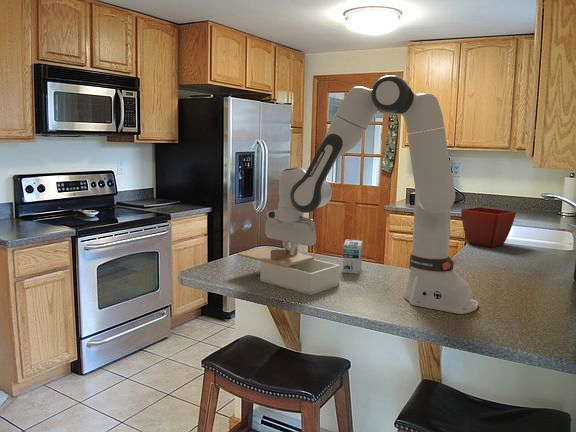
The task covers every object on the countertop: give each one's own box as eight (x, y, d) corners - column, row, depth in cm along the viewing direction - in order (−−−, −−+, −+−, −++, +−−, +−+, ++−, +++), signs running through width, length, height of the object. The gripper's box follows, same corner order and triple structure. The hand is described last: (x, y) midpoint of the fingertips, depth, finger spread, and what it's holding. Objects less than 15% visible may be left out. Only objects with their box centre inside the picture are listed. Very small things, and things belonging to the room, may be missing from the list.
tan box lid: (313, 259, 177) (314, 248, 176) (284, 267, 165) (284, 255, 164) (268, 248, 191) (268, 238, 190) (237, 255, 179) (237, 244, 178)
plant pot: (477, 238, 260) (480, 206, 257) (513, 245, 246) (517, 211, 243) (457, 242, 248) (460, 209, 245) (494, 250, 234) (497, 214, 231)
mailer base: (339, 285, 171) (340, 265, 170) (310, 295, 159) (311, 274, 158) (290, 272, 185) (290, 253, 184) (260, 281, 173) (260, 261, 172)
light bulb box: (359, 274, 185) (361, 245, 184) (341, 272, 187) (343, 244, 185) (361, 267, 196) (363, 240, 194) (344, 265, 197) (345, 239, 195)
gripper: (320, 217, 167) (318, 258, 169) (275, 210, 180) (273, 247, 182) (309, 219, 162) (307, 261, 164) (263, 212, 175) (261, 250, 177)
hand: (289, 254), depth 173 cm, fingers closed
